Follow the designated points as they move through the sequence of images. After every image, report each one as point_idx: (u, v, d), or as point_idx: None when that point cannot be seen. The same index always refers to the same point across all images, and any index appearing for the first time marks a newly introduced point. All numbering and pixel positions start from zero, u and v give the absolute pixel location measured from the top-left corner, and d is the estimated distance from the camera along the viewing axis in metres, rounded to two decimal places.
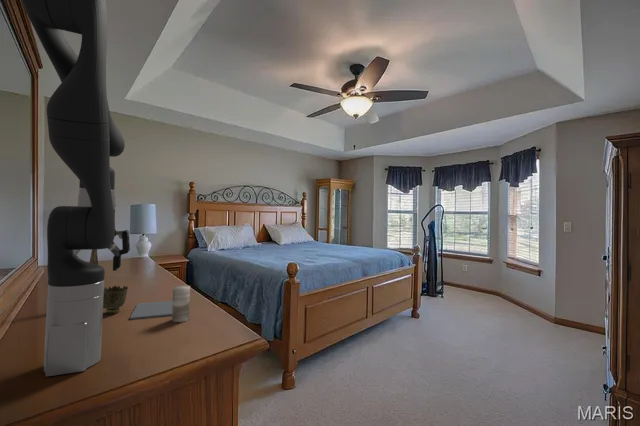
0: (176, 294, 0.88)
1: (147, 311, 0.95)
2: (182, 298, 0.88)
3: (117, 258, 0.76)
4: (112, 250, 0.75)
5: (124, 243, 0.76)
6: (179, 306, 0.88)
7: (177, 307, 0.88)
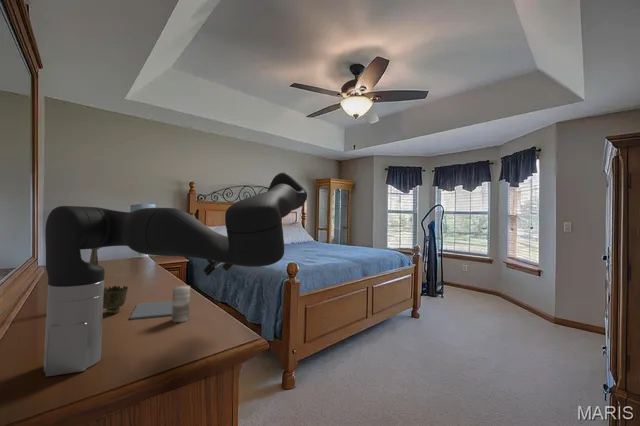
0: (176, 294, 0.88)
1: (147, 311, 0.95)
2: (182, 298, 0.88)
3: None
4: None
5: None
6: (179, 306, 0.88)
7: (177, 307, 0.88)
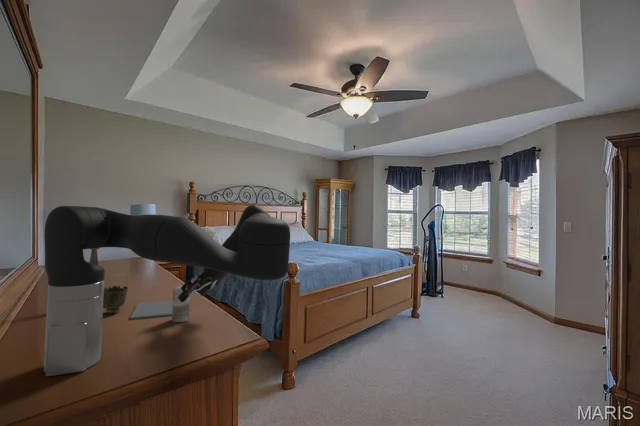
0: (176, 294, 0.88)
1: (147, 311, 0.95)
2: None
3: None
4: (212, 285, 0.93)
5: (220, 280, 0.95)
6: (179, 306, 0.88)
7: (177, 307, 0.88)
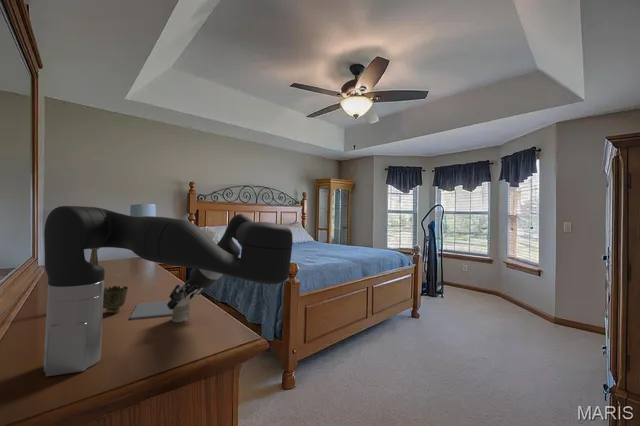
0: None
1: (147, 311, 0.95)
2: None
3: None
4: (195, 294, 0.92)
5: (204, 289, 0.94)
6: (179, 306, 0.88)
7: (177, 307, 0.88)
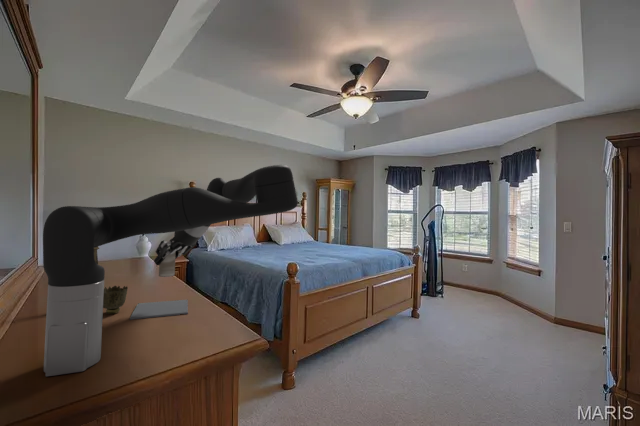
0: None
1: (147, 311, 0.95)
2: (168, 255, 0.97)
3: (176, 256, 1.02)
4: None
5: (188, 249, 1.03)
6: (165, 262, 0.97)
7: (163, 263, 0.97)
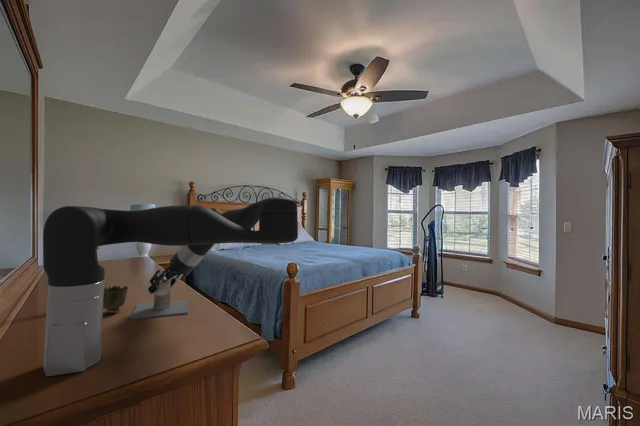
0: None
1: (147, 311, 0.95)
2: (163, 288, 0.97)
3: None
4: (177, 280, 1.02)
5: (185, 275, 1.04)
6: (160, 295, 0.97)
7: (158, 296, 0.97)
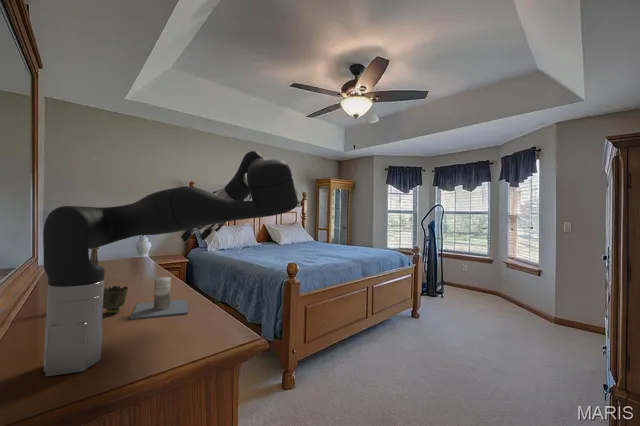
0: (157, 284, 0.97)
1: (147, 311, 0.95)
2: (163, 288, 0.97)
3: (210, 233, 1.00)
4: (212, 230, 0.99)
5: (220, 226, 1.01)
6: (160, 295, 0.97)
7: (158, 296, 0.97)
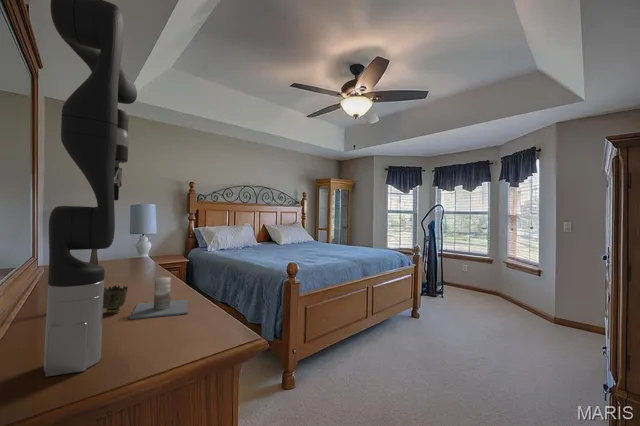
0: (157, 284, 0.97)
1: (147, 311, 0.95)
2: (163, 288, 0.97)
3: None
4: (119, 183, 0.90)
5: None
6: (160, 295, 0.97)
7: (158, 296, 0.97)
